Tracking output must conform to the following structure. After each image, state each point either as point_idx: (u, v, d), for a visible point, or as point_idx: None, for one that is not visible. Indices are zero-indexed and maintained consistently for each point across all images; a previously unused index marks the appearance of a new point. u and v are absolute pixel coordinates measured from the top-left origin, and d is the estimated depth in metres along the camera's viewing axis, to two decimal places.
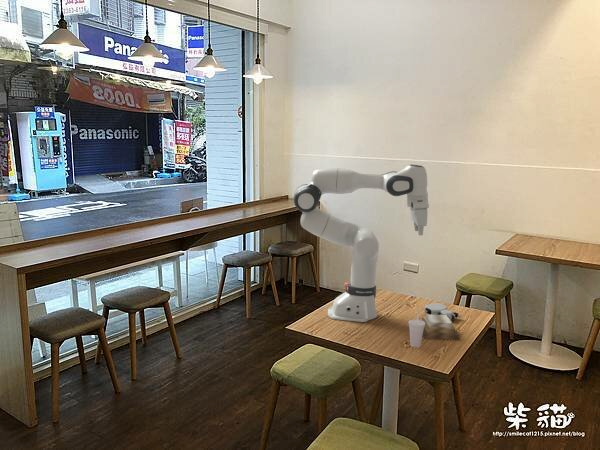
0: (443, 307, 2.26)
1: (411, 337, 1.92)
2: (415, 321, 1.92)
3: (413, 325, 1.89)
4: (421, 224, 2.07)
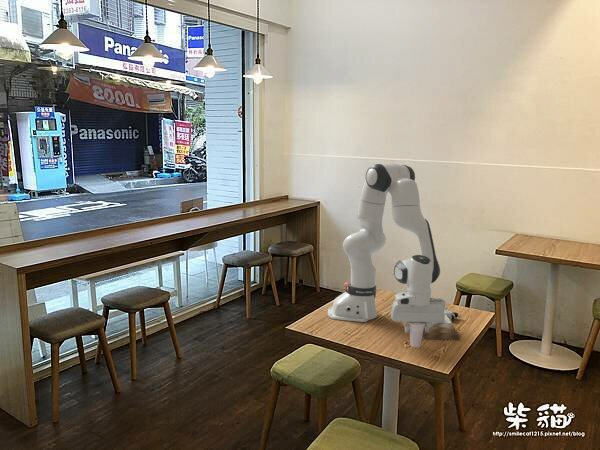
0: None
1: (411, 337, 1.92)
2: None
3: (413, 325, 1.89)
4: (391, 316, 1.92)
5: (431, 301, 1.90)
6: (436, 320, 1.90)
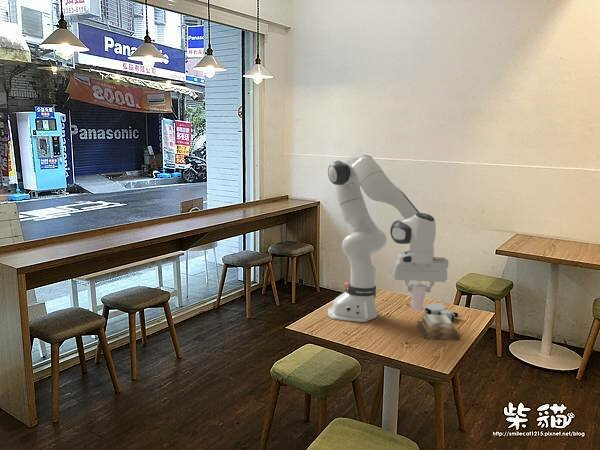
0: (443, 307, 2.26)
1: (413, 300, 1.89)
2: (417, 284, 1.89)
3: (416, 287, 1.87)
4: (393, 275, 1.89)
5: (434, 260, 1.87)
6: (439, 279, 1.87)
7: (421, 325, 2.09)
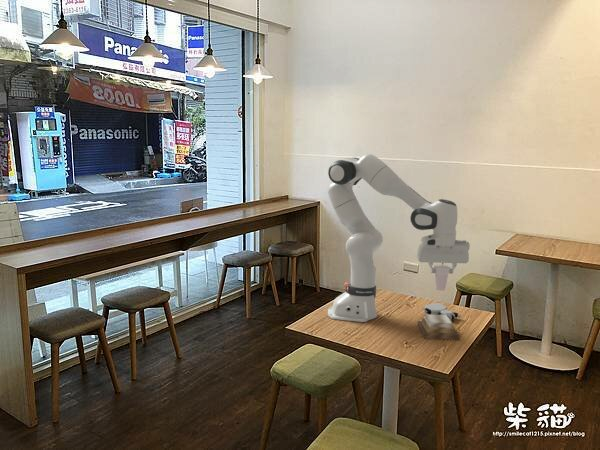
0: (443, 307, 2.26)
1: (437, 281, 2.02)
2: (440, 265, 2.02)
3: (439, 269, 1.99)
4: (417, 258, 2.02)
5: (456, 243, 2.00)
6: (461, 261, 1.99)
7: (421, 325, 2.09)
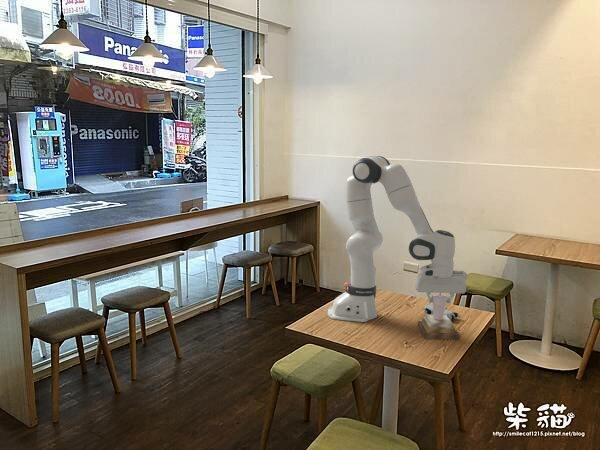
0: None
1: (434, 311, 2.04)
2: (438, 295, 2.04)
3: (437, 299, 2.02)
4: None
5: (453, 273, 2.02)
6: (458, 291, 2.02)
7: (421, 325, 2.09)
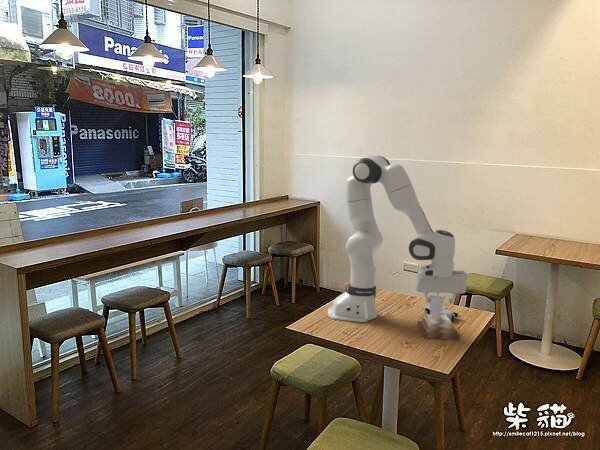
0: (442, 307, 2.26)
1: (432, 311, 2.04)
2: (435, 295, 2.04)
3: (434, 299, 2.02)
4: None
5: (454, 273, 2.02)
6: (458, 291, 2.02)
7: (421, 325, 2.09)
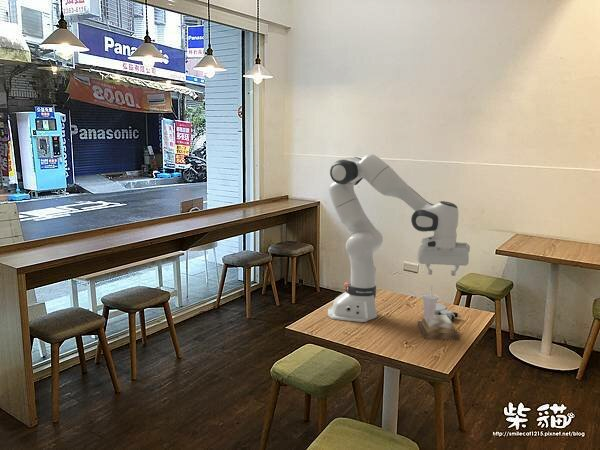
0: (442, 307, 2.26)
1: (425, 311, 2.04)
2: (429, 295, 2.05)
3: (427, 299, 2.02)
4: (417, 259, 2.02)
5: (456, 245, 2.00)
6: (461, 263, 2.00)
7: (421, 325, 2.09)
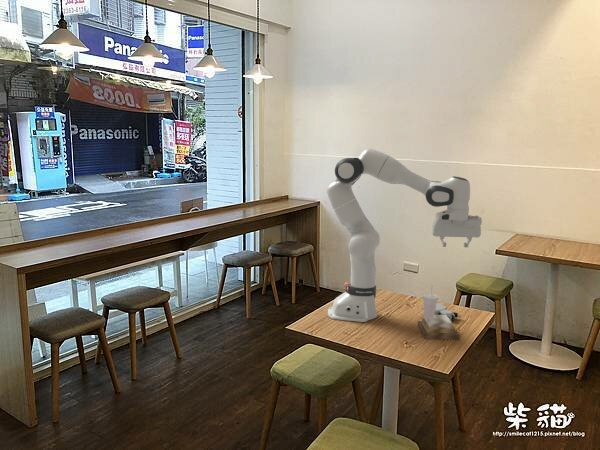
0: (442, 307, 2.26)
1: (425, 311, 2.04)
2: (429, 295, 2.05)
3: (427, 299, 2.02)
4: (432, 233, 2.12)
5: (469, 218, 2.10)
6: (473, 235, 2.09)
7: (421, 325, 2.09)
